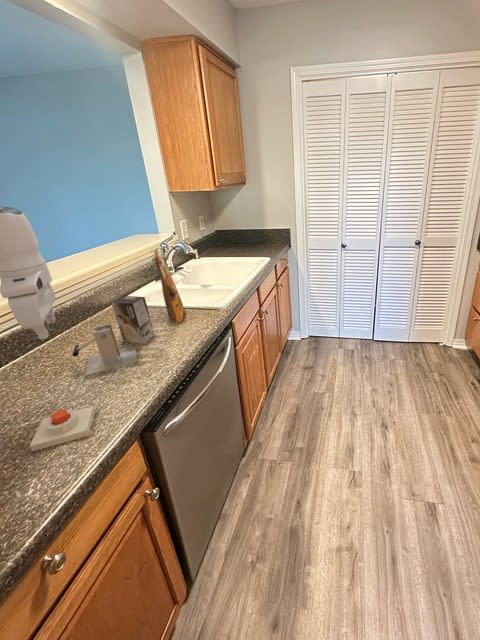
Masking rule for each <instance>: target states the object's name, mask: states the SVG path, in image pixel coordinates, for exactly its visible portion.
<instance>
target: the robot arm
mask: <svg viewBox="0 0 480 640" xmlns="http://www.w3.org/2000/svg"><path fill="white" fill-rule="evenodd" d="M52 281H53V278H52V275H51V273H50V270H49V267H48V264H47V262H46V260H45V258H44V257H43V255H42V254H41V252H40V245H39V241H38V239H37V236H36V234H35V232H34V229H33V227H32V225H31V223H30V221H29V219H28V218H27V217H26V215H25V214H24V213H23V212H22V211H21V210H19V209H17V208H14V207H9V206H0V295H1V297H2V298H3V299H7V304H8V306H9V308H10V310H11V313H12V314H13V316H14V318H15V320H16V321H17V323H18V325H19V326H20V327H21V328H22V329H24V330H29V329H32V330H33V331H34V333H36V334H37V337H38V339H39V340H46V339H48V338H49V336H50V332H49V329H48V328H46V326H45V323H46V324H47V325H51V324H55V323H56V316H55V313H54V303H55V301H56V294H55V291H54V288H53V287H52V285H51V282H52Z"/></svg>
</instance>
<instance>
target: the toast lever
mask: <svg viewBox="0 0 480 640" xmlns="http://www.w3.org/2000/svg"><path fill="white" fill-rule="evenodd" d="M104 329H107V328H106V327H104V328H102V329H100V330H104ZM94 342H96V340H95V337H94V336H93V337H91V338H89V340H87V341H86V342H84V343H82V344H80V345H79V344H75V345H74V347H73V351H72V357H75V358H76V357H78V356H79V353H80V351H83V350H84V349H85V348H87V347H89V346H90V345H92V344H93V343H94Z"/></svg>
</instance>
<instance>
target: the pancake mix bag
mask: <svg viewBox="0 0 480 640" xmlns="http://www.w3.org/2000/svg"><path fill="white" fill-rule="evenodd" d="M154 254H155V255H154V261H155V266H156V269H157V272H158V275H159V277H160V282H161V288H162V289H161V290H162V295H163V300H164V304H165V308H166V312H167V315H168V318H169V321H170V323H176V324H177V323H182V322H183V320H184V313H185V308H184V304H183V301H182V298H181V296H180V293H179V291H178V288H177V286H176V283H175V281H174V279H173V278H172V275H171V273H170V270H169V268H168V267H167V264H166V263H165V261H164V260H163V259H164V258H162V256H161V254H160V253H159V250H158V248H156V249H155V250H154Z"/></svg>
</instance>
